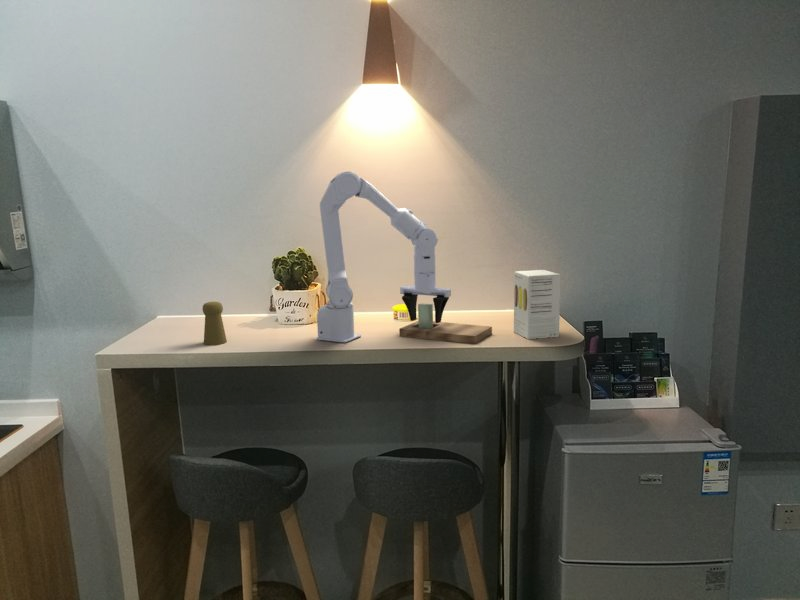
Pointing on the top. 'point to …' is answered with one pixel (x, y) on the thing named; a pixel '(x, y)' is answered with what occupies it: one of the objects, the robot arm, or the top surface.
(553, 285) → the supplement box
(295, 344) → the top surface
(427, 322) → the peg
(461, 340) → the walnut board
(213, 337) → the cork
